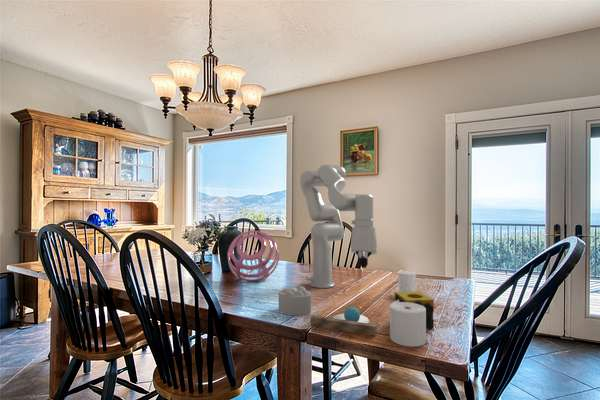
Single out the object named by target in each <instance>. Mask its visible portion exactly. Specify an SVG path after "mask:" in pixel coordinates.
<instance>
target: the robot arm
mask: <svg viewBox="0 0 600 400" xmlns="http://www.w3.org/2000/svg"><path fill="white" fill-rule="evenodd" d="M346 172H347V171H346V170H345V168H344V167H343V166H341V165H337V164H323V165H321V166H320V167H318V169H308V170H305V171H303V172H302V173H301V175H300V177H299V178H300V179H299V185H300V189H301V191H302V194H303V196H304V197H305V202H306V206H307V210H308V214H309V218H310V220H311V221H313V222H316V223H314V224H313V226H311V228H310V236H311V242H312V269H313V270H312V275H306V276H305V279H306V281H310V282H309V285H310V286H311V287H313V288H317V289H329V288H334V287H335V286H336V283H335V282H334V281H333V271H332V269H333V266H332V265H333V263H332V261H333V258H332V255H333V254H332V253H333V251H332V248H331V246H330V244H329V242H336V241H341V240H342V239H343V238H344V235H345V229H344V225H343V220H342V218H341V215H340V212H354V220H351V224H353V225H354V226H352V228H351V229H352V230H351V237H350V251H351V253H353V254H356V255H357V256H358V258H359V266H360V269H361V268H364V269H366V268H367V266H369V265H368V264H369V257H370V256H371V255H377V253H378V251H377V246H378V245H377V234H376V233H377V232H376V228H375V227H374V196H373V195H372V194H360V193H342V191H343V190H344V189H345V186H346V181H345V179H346V175H347V173H346ZM316 187H325V188H327V189H328V190H327V198H328V201H329V203H325V202H324V201H323V197H322V195H321V192H320V191H318V189H317V188H316ZM317 222H318V223H317Z"/></svg>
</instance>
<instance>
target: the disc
mask: <svg viewBox="0 0 600 400" xmlns="http://www.w3.org/2000/svg"><path fill="white" fill-rule="evenodd" d="M332 318H334V319H341V320H345V318H344V312H343V313H338V314H336V315H334V316H333V317H332ZM358 322H361V323H368V324H370V320H369V318H368V317H367V316H365V315H363V314H360V319H359V321H358Z"/></svg>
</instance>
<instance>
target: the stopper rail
mask: <svg viewBox="0 0 600 400" xmlns="http://www.w3.org/2000/svg"><path fill="white" fill-rule="evenodd" d="M310 327H315V328H319V329H325V330H326V329H327V330H332V331H340V332H345V333H351V334H357V333H359V334H358V335H363V334H366V335H365V336H369V335H373V336H372V337H376V336H377V333H378V332H377V327H378V326H377V324H373V323H361V322H354V321H347V320H341V319H334V318H333V317H332V318H331V317H325V316H318V315H312V316H311V317H310ZM375 335H376V336H375Z"/></svg>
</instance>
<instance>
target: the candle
mask: <svg viewBox="0 0 600 400" xmlns="http://www.w3.org/2000/svg"><path fill="white" fill-rule="evenodd" d="M396 300H399V302H410V303H415V304H419V305H422V306H424V307H425V308H426V330H431V329H434V328H435V326H434V325H435V324H434V323H435V321H434V308H435V305H434V303H435V301H434V300H435V299H434V298H432V297H430V296H429V295H427V294H425V293H423V292H422V291H415V292H399V291H395V292H394V301H396Z"/></svg>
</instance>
